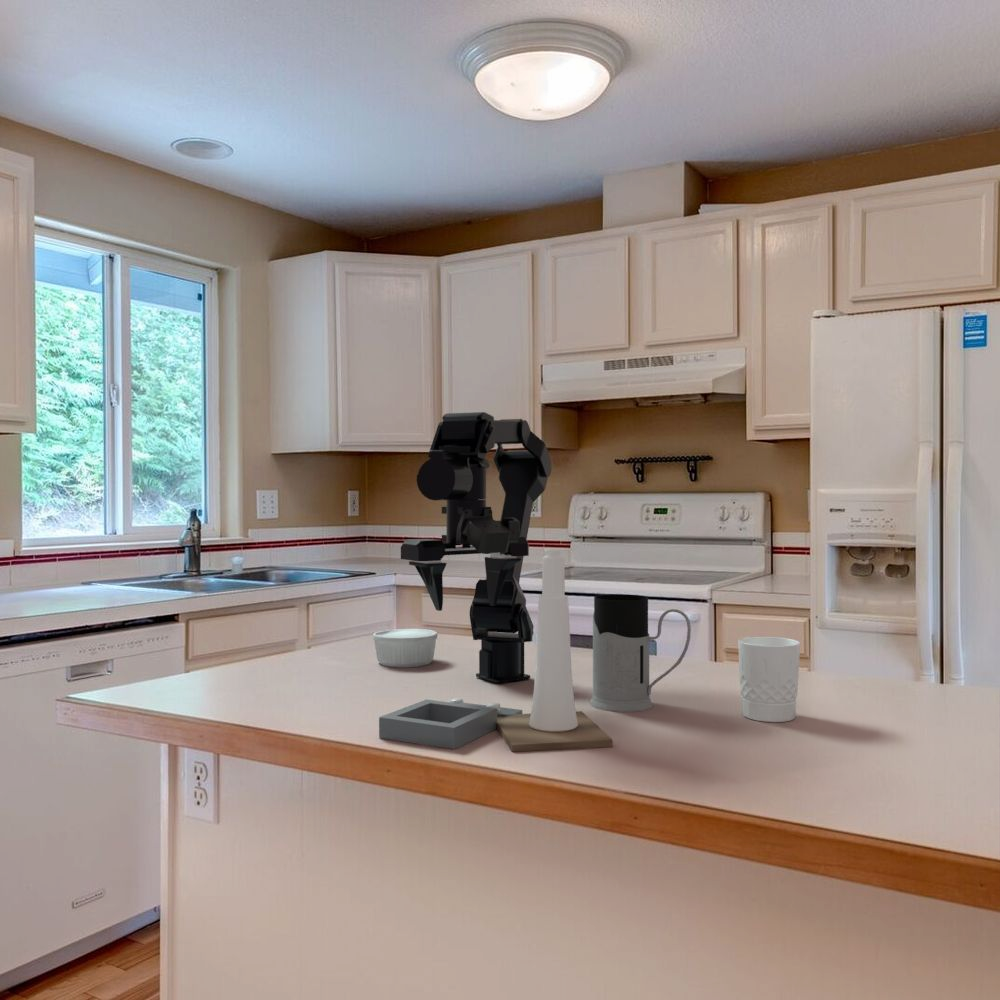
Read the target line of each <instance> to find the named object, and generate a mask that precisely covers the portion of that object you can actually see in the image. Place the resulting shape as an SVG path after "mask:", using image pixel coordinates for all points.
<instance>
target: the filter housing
mask: <svg viewBox="0 0 1000 1000" xmlns="http://www.w3.org/2000/svg"><path fill="white" fill-rule="evenodd" d="M508 714H510V715H512V714H523V709H517V708H512V707H511V708H510V707H502V706H501V704H500V703H498V702H488V703H486V704H485V705H484V704H480V703H479V704H477V703H470V702H464V699H463V698H459V697H457V698H455V697H454V698H450V699H449V701H441V700H434V699H424V700H422V701H421V700H420V701H418V702H415V703H413V704H411V705H408V706H405V707H403V708H400V709H397V710H394V711H392V712H389V713H387V714H383V715H382V716H379V717H378V728H379V729H378V738H379V739H385V740H392V741H397V742H405V743H413V744H417V745H423V746H431V747H436V748H443V749H451V750H456V749H457V748H460V747H462V746H464V745H466V744H468V743H470V742H472V741H474V740H476V739H478V738H480V737H483V736H485V735H486V734H487V735H488V734H489V733H491V732H492V731H494V730H496V729H497V722H498V721H497V715H508ZM510 715H508V717H509V716H510ZM504 718H505V717H504V716H503V719H504ZM506 718H507V717H506ZM499 720H500V716H499ZM497 730H498V729H497Z"/></svg>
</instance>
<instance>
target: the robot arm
mask: <svg viewBox="0 0 1000 1000" xmlns="http://www.w3.org/2000/svg"><path fill="white" fill-rule="evenodd" d="M441 419H442V421H440V422H439V423H438V424H437V427H436V431H435V432H434V433H435V434H434V437H433V439H432V443H431V446H430V449H429V452H428V454H427V455H428V459H427V460H426V461H424V463H423V464H422V465H421V466H420V468H419V470H418V473H417V475H416V484H417V488H418V490H419V492H420V493H421V495H423V497H425V498H426V499H428V500H430V501H446V502H445V503H446V505H445V506H441V514H442V515H445V516H446V520H445V521H446V525H445V526H446V533H445V534H441V539H433V538H413V539H412V538H411V539H410V538H408V539H404V541H403V542H402V545H401V546H400V559H401V560H407V561H408V565H409V566H414V567H415V570H416V572H417V573H418V575H419V576H420V578H421V580H422V581H423V584H424V585H425V588H426V590H427V593H428V595H429V597H430V599H431V601H432V603H433V606H434V608H435V610H436V611H438V612H441V611H443V604H444V597H443V596H444V593H443V592H444V590H443V588H444V586H443V584H444V583H443V573H444V570H445V569H446V566H447V562H442V561H441V560H442V559H443V558H444V556H459V555H477V554H478V555H479V554H483V555H489V556H484V567H485V575H486V576H485V579H481V578H480V579H479V580H477V583H475V589H474V590H475V591H474V596H473V599H472V601H471V603H470V604H471V605H470V609H469V620H470V621H469V622H470V628H471V635H472V639H473V641H479V640H480V641H481V642H480V643H481V644H480V646H481V647H480V648H481V649H479V651H478V653H479V654H478V656H479V657H478V662H479V666H478V672H477V673H475V677H476V678H479V679H483V680H486V681H489V682H492V683H496V684H503V683H509V682H517V681H520V680H521V681H523V680H529V679H531V675H530V674H527V673H525V643H528V642H529V643H530V642H532V641H533V636H534V623H533V622H532V619H531V617H530V614H529V611H528V608H527V606H526V605H527V599H526V597H525V594H524V592H523V589H522V587H521V584H520V581H521V580H520V579H521V573H522V568H523V561H524V557H528V556H530V544H529V542H528V540H527V539H528V534H529V528H530V521H531V516H532V515H531V514H532V510H533V506H534V503H535V501H536V500H537V499H538V498H539V497H540V496H541V495H542V494H543V493H544V491H545V490H546V487H547V484H548V478H549V477H550V476H551V473H552V459H551V456H550V454H549V451H548V448H547V446H546V445H547V444H546V443H545V441H543V440H542V439H541V438H539V436H537V434H535V433H534V432H533V431H531V427H530V425H529V423H528V421H527V420H525V419H523V418H508V419H507V418H506V419H504V418H503V419H495V417H494V416H493V415H491V414H489V413H488V412H484V411H481V412H480V411H479V412H478V411H477V412H476V411H475V412H453V413H451V412H450V413H448V412H447V413H444V414H443V416H442V417H441ZM495 444H496V445H497V447H496V446H495ZM506 444H507V445H519V444H521V445H522V447H523V448H524V449H515V450H514V449H513V450H512V449H511V450H510V449H508V450H507V451H505V450H504V448H503V445H506ZM495 447H496V451H495V454H494V457H493V462H494V464H495V466H496V469H497V471H498V480H499V482H500V485H501V487H502V489H503V491H504V499H503V500H504V501H503V504H502V509H501V510H502V511H501V515H500V520H496V519H494V517H493V510H492V506H487V469H489V468H490V463H489V461H488V460H487V459H485V457H486V455H487V454H488V453H489V451H490V450H492V449H494V448H495Z"/></svg>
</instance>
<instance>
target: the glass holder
mask: <svg viewBox="0 0 1000 1000" xmlns="http://www.w3.org/2000/svg"><path fill="white" fill-rule="evenodd" d="M593 598H594V599H593V608H594V611H593V615H592V695H591V696H592V697H591V698H590V701H589V705H590V706H591V707H593V708H595V709H598V710H602V711H607V712H618V713H619V712H620V713H621V712H622V713H624V712H625V713H627V712H629V713H630V712H632V713H633V712H640V711H641V712H642V711H646V710H649V709H651V708H653V705H654V704H653V702H652V700H651V696H650V695H651V693H652V688H653V686H655V685H656V684H657V683H658V682H659V681H661V680H662V679H664V678H665V677H666V676H667V675H668V674H670V673H671V672H672V671H673V670H674V669H675V668H677V667H678V666H679V665H680V664H681V663H682V661H683V660H684V657H685V655H686V653H687V651H688V649H689V645H690V641H691V635H692V633H691V629H692V628H691V627H692V626H691V622H690V621H691V620H690V619H689V617H688V615H687V614H686V613H684V611H682V610H679V609H675V608H671V609H667V610H666V611H664V612H663V613H662V614H661V615H660V617H659V620H658V623H657V633H656V636H650V634H649V597H648V596H645V595H639V594H624V593H622V594H621V593H620V594H617V593H615V594H613V593H611V594H600V595H595V596H594V597H593ZM670 613H678V614H680V615H681V616H683V618H684V619H685V621H686V625H687V626H686V627H687V634H686V641H685V645H684V648H683V650H682V652H681V654H680V656H679V658H678V659H677V660H676V662H675V663H674V664H673V665H672V666H671V667H669V669H667V670H666V671H665V672H664V673H662V674H660V676H658V677H657V678H656V679H655V680H653V681H652V682H651V683H650V641H651V640H657V639H659V638H660V636H661V633H662V625H663V620H664V618H665V617H666V615H667V614H670Z"/></svg>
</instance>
